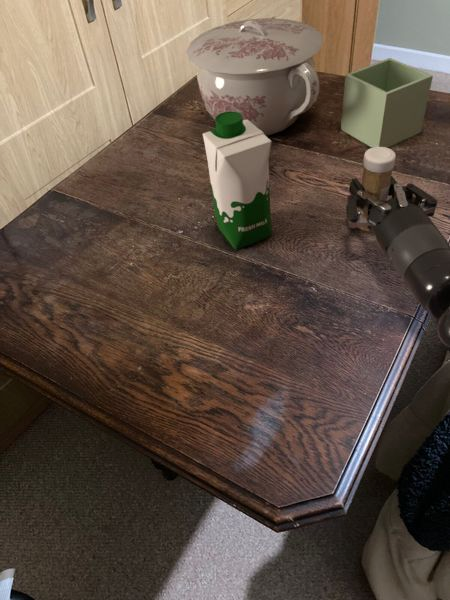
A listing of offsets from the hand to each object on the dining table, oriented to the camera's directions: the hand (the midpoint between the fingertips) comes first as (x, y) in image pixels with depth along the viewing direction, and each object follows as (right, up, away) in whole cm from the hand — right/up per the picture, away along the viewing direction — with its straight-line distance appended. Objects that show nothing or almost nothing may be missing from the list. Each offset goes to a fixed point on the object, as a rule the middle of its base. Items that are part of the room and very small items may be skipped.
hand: (368, 180), depth 80 cm
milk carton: (-20, -8, +5) cm, 22 cm away
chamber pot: (-16, +20, +31) cm, 40 cm away
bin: (+9, +16, +23) cm, 29 cm away
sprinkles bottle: (+1, -7, +3) cm, 8 cm away
